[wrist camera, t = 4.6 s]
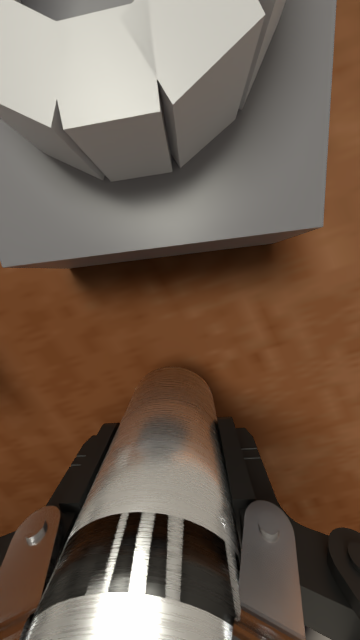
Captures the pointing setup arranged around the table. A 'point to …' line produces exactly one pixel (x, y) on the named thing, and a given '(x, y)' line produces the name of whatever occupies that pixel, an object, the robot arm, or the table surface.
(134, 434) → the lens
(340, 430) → the table surface
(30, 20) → the grey socket base
